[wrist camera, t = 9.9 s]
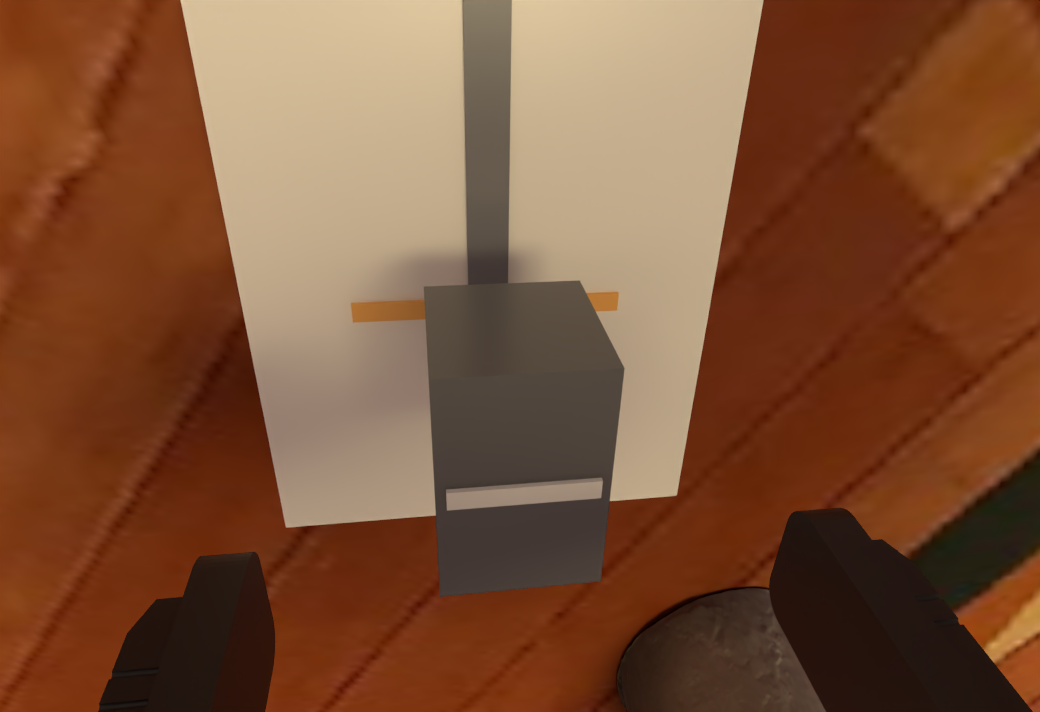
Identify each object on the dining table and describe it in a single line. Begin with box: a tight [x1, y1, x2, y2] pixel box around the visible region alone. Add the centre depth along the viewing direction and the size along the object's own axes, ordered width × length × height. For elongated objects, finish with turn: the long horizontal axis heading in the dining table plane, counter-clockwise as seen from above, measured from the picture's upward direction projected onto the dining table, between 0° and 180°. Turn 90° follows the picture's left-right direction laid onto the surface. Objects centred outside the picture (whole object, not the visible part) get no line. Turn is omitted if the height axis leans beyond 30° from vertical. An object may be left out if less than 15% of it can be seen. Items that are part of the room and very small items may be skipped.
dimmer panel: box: [181, 0, 763, 528], centre depth 17 cm, size 24×12×3 cm, turn 179°
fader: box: [424, 280, 625, 597], centre depth 15 cm, size 5×3×6 cm, turn 179°
